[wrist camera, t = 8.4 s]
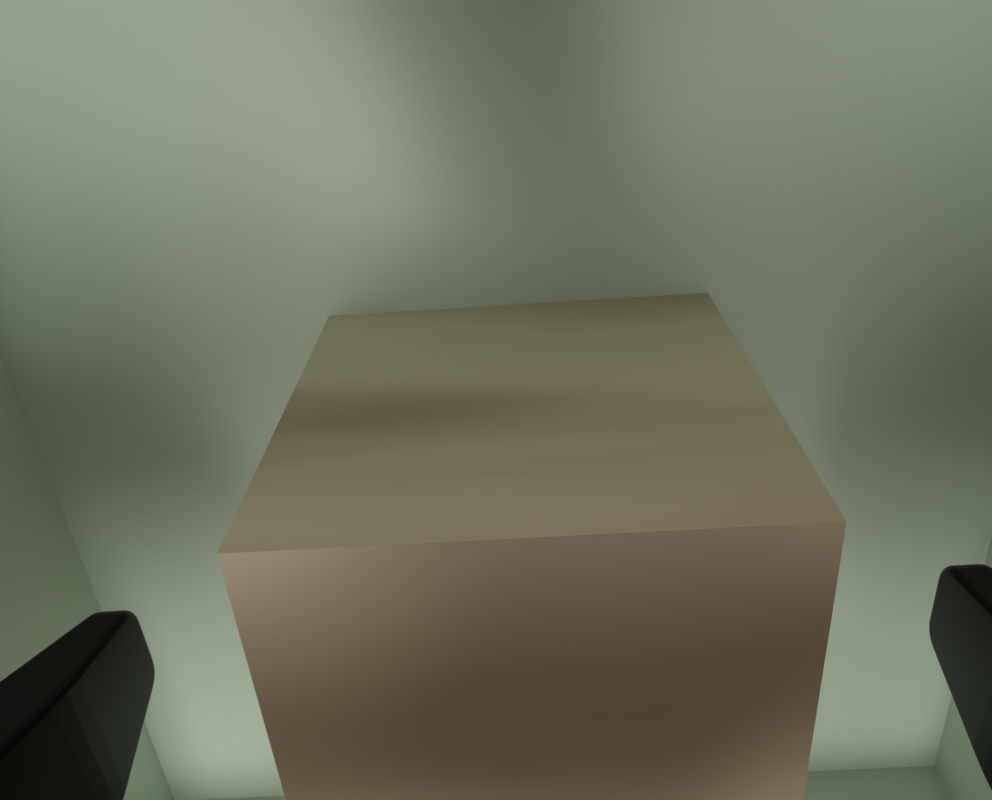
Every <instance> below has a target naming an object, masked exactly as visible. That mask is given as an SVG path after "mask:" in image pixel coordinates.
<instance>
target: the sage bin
mask: <svg viewBox="0 0 992 800" xmlns="http://www.w3.org/2000/svg"><path fill="white" fill-rule="evenodd" d="M697 293H708V294H709V295H710V297H711V299H712V300H713V302H714V304H715V305H716V307H717V309H718V310H719V312H720V313H721V315H722V317H723V318H724V320H725V322H726V323H727V325H728V327H729V328H730V330H731V332H732V333H733V335H734V337H735V338H736V340H737V341H738V343H739V345H740V346H741V348H742V350H743V351H744V353H745V355H746V356H747V358H748V360H749V361H750V363H751V365H752V366H753V368H754V370H755V371H756V373H757V374H758V376H759V378H760V379H761V381H762V383H763V384H764V386H765V388H766V389H767V391H768V393H769V394H770V396H771V398H772V399H773V401H774V402H775V404H776V406H777V407H778V409H779V411H780V412H781V414H782V416H783V417H784V419H785V421H786V422H787V424H788V426H789V427H790V429H791V431H792V432H793V434H794V435H795V437H796V439H797V440H798V442H799V444H800V445H801V447H802V449H803V450H804V452H805V454H806V455H807V457H808V459H809V460H810V462H811V463H812V465H813V467H814V468H815V470H816V472H817V473H818V475H819V477H820V478H821V480H822V482H823V483H824V485H825V487H826V488H827V490H828V492H829V493H830V495H831V496H832V498H833V500H834V501H835V503H836V505H837V506H838V508H839V510H840V511H841V513H842V515H843V516H844V518H845V520H846V521H847V523H846V529H845V535H844V542H843V548H842V554H841V561H840V567H839V574H838V580H837V586H836V593H835V599H834V605H833V612H832V618H831V625H830V631H829V637H828V644H827V650H826V656H825V663H824V669H823V676H822V682H821V688H820V695H819V701H818V707H817V714H816V720H815V727H814V733H813V739H812V746H811V752H810V758H809V765H808V771H807V778H806V784H805V790H804V797H803V800H992V790H991V788H990V786H989V784H988V782H987V780H986V778H985V776H984V774H983V772H982V769H981V767H980V765H979V762H978V760H977V758H976V755H975V753H974V750H973V748H972V745H971V743H970V740H969V738H968V735H967V733H966V730H965V728H964V725H963V722H962V720H961V717H960V715H959V712H958V710H957V707H956V705H955V702H954V700H953V697H952V694H951V692H950V689H949V687H948V684H947V682H946V679H945V677H944V674H943V672H942V669H941V666H940V664H939V661H938V659H937V656H936V654H935V651H934V649H933V646H932V643H931V639H930V633H929V622H930V616H931V612H932V607H933V602H934V598H935V593H936V589H937V584H938V580H939V576H940V573H941V572H942V570H943V569H944V568H945V567H948V566H951V565H966V564H983V565H987V566H989V567H991V568H992V0H0V681H2V680H3V679H4V678H6V677H7V676H8V675H10V674H11V673H12V672H14V671H15V670H17V669H18V668H19V667H21V666H22V665H23V664H25V663H26V662H27V661H29V660H30V659H32V658H33V657H34V656H36V655H37V654H38V653H40V652H41V651H42V650H44V649H45V648H47V647H48V646H49V645H51V644H52V643H53V642H55V641H56V640H57V639H59V638H60V637H62V636H63V635H64V634H66V633H67V632H68V631H70V630H71V629H72V628H74V627H75V626H77V625H78V624H79V623H81V622H82V621H83V620H85V619H86V618H87V617H89V616H90V615H92V614H94V613H97V612H102V611H121V610H127V611H131V612H133V613H134V614H135V615H136V616H137V618H138V620H139V623H140V626H141V629H142V631H143V634H144V637H145V640H146V642H147V645H148V648H149V651H150V654H151V656H152V659H153V663H154V669H155V678H154V685H153V689H152V693H151V697H150V700H149V704H148V708H147V712H146V716H145V720H144V723H143V727H142V731H141V735H140V739H139V743H138V746H137V750H136V754H135V758H134V762H133V766H132V769H131V773H130V777H129V781H128V785H127V789H126V792H125V796H124V799H123V800H286V799H285V796H284V792H283V789H282V785H281V781H280V778H279V774H278V771H277V767H276V764H275V760H274V756H273V753H272V749H271V746H270V742H269V739H268V735H267V731H266V728H265V724H264V721H263V717H262V714H261V710H260V707H259V703H258V699H257V696H256V692H255V689H254V685H253V682H252V678H251V674H250V671H249V667H248V664H247V660H246V657H245V653H244V650H243V646H242V642H241V639H240V635H239V632H238V628H237V625H236V621H235V617H234V614H233V610H232V607H231V603H230V600H229V596H228V592H227V589H226V585H225V582H224V578H223V575H222V571H221V568H220V564H219V560H218V557H217V552H218V550H219V548H220V546H221V544H222V541H223V539H224V537H225V535H226V533H227V531H228V529H229V527H230V525H231V522H232V520H233V518H234V516H235V514H236V512H237V510H238V508H239V505H240V503H241V501H242V499H243V497H244V495H245V493H246V491H247V488H248V486H249V484H250V482H251V480H252V478H253V476H254V474H255V472H256V469H257V467H258V465H259V463H260V461H261V459H262V457H263V455H264V452H265V450H266V448H267V446H268V444H269V442H270V440H271V438H272V435H273V433H274V431H275V429H276V427H277V425H278V423H279V421H280V419H281V416H282V414H283V412H284V410H285V408H286V406H287V404H288V402H289V399H290V397H291V395H292V393H293V391H294V389H295V387H296V385H297V383H298V380H299V378H300V376H301V374H302V372H303V370H304V368H305V366H306V363H307V361H308V359H309V357H310V355H311V353H312V351H313V349H314V346H315V344H316V342H317V340H318V338H319V336H320V334H321V332H322V330H323V327H324V325H325V323H326V321H327V319H328V317H329V316H339V315H355V314H371V313H388V312H404V311H420V310H437V309H453V308H469V307H485V306H502V305H518V304H534V303H550V302H567V301H583V300H599V299H615V298H632V297H648V296H664V295H680V294H697Z"/></svg>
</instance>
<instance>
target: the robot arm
mask: <svg viewBox="0 0 992 800" xmlns="http://www.w3.org/2000/svg"><path fill="white" fill-rule="evenodd" d="M929 633H930V639H931V643H932V646H933V649H934V651H935V654H936V656H937V659H938V661H939V664H940V666H941V669H942V672H943V674H944V677H945V679H946V682H947V684H948V687H949V689H950V692H951V694H952V697H953V700H954V702H955V705H956V707H957V710H958V712H959V715H960V717H961V720H962V722H963V725H964V728H965V730H966V733H967V735H968V738H969V740H970V743H971V745H972V748H973V750H974V753H975V755H976V758H977V760H978V762H979V765H980V767H981V769H982V772H983V774H984V776H985V778H986V780H987V782H988V784H989V786H990V788H991V790H992V568H991V567H989V566H987V565H983V564H966V565H951V566H948V567H945V568H944V569H943V570H942V572H941V573H940V576H939V580H938V584H937V589H936V593H935V598H934V602H933V607H932V612H931V616H930V622H929ZM154 678H155V669H154V663H153V659H152V656H151V654H150V651H149V648H148V645H147V642H146V640H145V637H144V634H143V631H142V629H141V626H140V623H139V620H138V618H137V616H136V615H135V614H134V613H133V612H131V611H127V610H121V611H102V612H97V613H94V614H92V615H90V616H89V617H87V618H86V619H85V620H83V621H82V622H81V623H79V624H78V625H77V626H75V627H74V628H72V629H71V630H70V631H68V632H67V633H66V634H64V635H63V636H62V637H60V638H59V639H57V640H56V641H55V642H53V643H52V644H51V645H49V646H48V647H47V648H45V649H44V650H42V651H41V652H40V653H38V654H37V655H36V656H34V657H33V658H32V659H30V660H29V661H27V662H26V663H25V664H23V665H22V666H21V667H19V668H18V669H17V670H15V671H14V672H12V673H11V674H10V675H8V676H7V677H6V678H4V679H3V680H2V681H0V800H123V799H124V796H125V792H126V789H127V785H128V781H129V777H130V773H131V769H132V766H133V762H134V758H135V754H136V750H137V746H138V743H139V739H140V735H141V731H142V727H143V723H144V720H145V716H146V712H147V708H148V704H149V700H150V697H151V693H152V689H153V685H154Z"/></svg>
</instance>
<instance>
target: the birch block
mask: <svg viewBox="0 0 992 800" xmlns="http://www.w3.org/2000/svg"><path fill="white" fill-rule="evenodd" d="M846 523H847V521H846V520H845V518H844V516H843V515H842V513H841V511H840V510H839V508H838V506H837V505H836V503H835V501H834V500H833V498H832V496H831V495H830V493H829V492H828V490H827V488H826V487H825V485H824V483H823V482H822V480H821V478H820V477H819V475H818V473H817V472H816V470H815V468H814V467H813V465H812V463H811V462H810V460H809V459H808V457H807V455H806V454H805V452H804V450H803V449H802V447H801V445H800V444H799V442H798V440H797V439H796V437H795V435H794V434H793V432H792V431H791V429H790V427H789V426H788V424H787V422H786V421H785V419H784V417H783V416H782V414H781V412H780V411H779V409H778V407H777V406H776V404H775V402H774V401H773V399H772V398H771V396H770V394H769V393H768V391H767V389H766V388H765V386H764V384H763V383H762V381H761V379H760V378H759V376H758V374H757V373H756V371H755V370H754V368H753V366H752V365H751V363H750V361H749V360H748V358H747V356H746V355H745V353H744V351H743V350H742V348H741V346H740V345H739V343H738V341H737V340H736V338H735V337H734V335H733V333H732V332H731V330H730V328H729V327H728V325H727V323H726V322H725V320H724V318H723V317H722V315H721V313H720V312H719V310H718V309H717V307H716V305H715V304H714V302H713V300H712V299H711V297H710V295H709V294H708V293H697V294H680V295H664V296H648V297H632V298H615V299H599V300H583V301H567V302H550V303H534V304H518V305H502V306H485V307H469V308H453V309H437V310H420V311H404V312H388V313H371V314H355V315H339V316H329V317H328V319H327V321H326V323H325V325H324V327H323V330H322V332H321V334H320V336H319V338H318V340H317V342H316V344H315V346H314V349H313V351H312V353H311V355H310V357H309V359H308V361H307V363H306V366H305V368H304V370H303V372H302V374H301V376H300V378H299V380H298V383H297V385H296V387H295V389H294V391H293V393H292V395H291V397H290V399H289V402H288V404H287V406H286V408H285V410H284V412H283V414H282V416H281V419H280V421H279V423H278V425H277V427H276V429H275V431H274V433H273V435H272V438H271V440H270V442H269V444H268V446H267V448H266V450H265V452H264V455H263V457H262V459H261V461H260V463H259V465H258V467H257V469H256V472H255V474H254V476H253V478H252V480H251V482H250V484H249V486H248V488H247V491H246V493H245V495H244V497H243V499H242V501H241V503H240V505H239V508H238V510H237V512H236V514H235V516H234V518H233V520H232V522H231V525H230V527H229V529H228V531H227V533H226V535H225V537H224V539H223V541H222V544H221V546H220V548H219V550H218V552H217V557H218V560H219V564H220V568H221V571H222V575H223V578H224V582H225V585H226V589H227V592H228V596H229V600H230V603H231V607H232V610H233V614H234V617H235V621H236V625H237V628H238V632H239V635H240V639H241V642H242V646H243V650H244V653H245V657H246V660H247V664H248V667H249V671H250V674H251V678H252V682H253V685H254V689H255V692H256V696H257V699H258V703H259V707H260V710H261V714H262V717H263V721H264V724H265V728H266V731H267V735H268V739H269V742H270V746H271V749H272V753H273V756H274V760H275V764H276V767H277V771H278V774H279V778H280V781H281V785H282V789H283V792H284V796H285V799H286V800H803V797H804V790H805V784H806V778H807V771H808V765H809V758H810V752H811V746H812V739H813V733H814V727H815V720H816V714H817V707H818V701H819V695H820V688H821V682H822V676H823V669H824V663H825V656H826V650H827V644H828V637H829V631H830V625H831V618H832V612H833V605H834V599H835V593H836V586H837V580H838V574H839V567H840V561H841V554H842V548H843V542H844V535H845V529H846Z"/></svg>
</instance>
